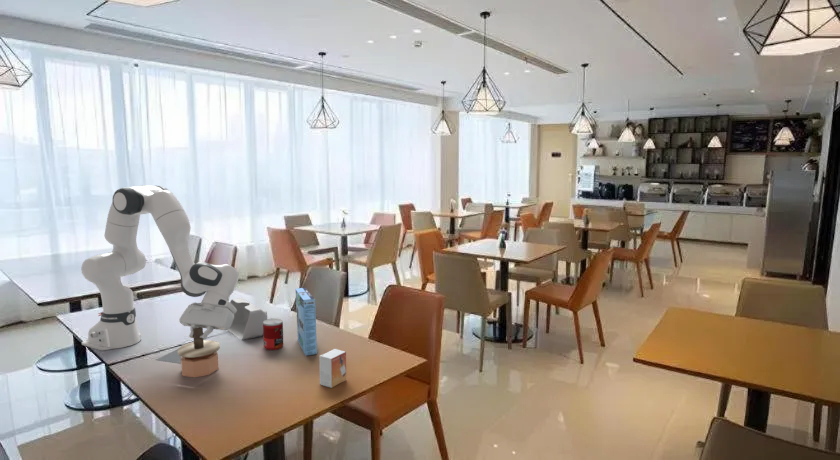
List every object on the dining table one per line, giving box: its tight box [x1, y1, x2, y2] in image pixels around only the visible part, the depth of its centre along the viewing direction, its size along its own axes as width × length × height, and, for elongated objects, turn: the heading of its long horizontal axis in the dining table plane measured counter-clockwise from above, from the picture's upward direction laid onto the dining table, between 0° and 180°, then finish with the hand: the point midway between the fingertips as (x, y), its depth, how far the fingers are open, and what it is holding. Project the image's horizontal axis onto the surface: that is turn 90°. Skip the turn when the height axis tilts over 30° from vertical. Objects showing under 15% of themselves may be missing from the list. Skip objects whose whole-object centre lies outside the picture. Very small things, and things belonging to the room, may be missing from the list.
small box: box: [318, 348, 347, 389], centre depth 169 cm, size 8×6×10 cm
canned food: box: [262, 318, 284, 351], centre depth 200 cm, size 8×8×11 cm
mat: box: [155, 348, 181, 365], centre depth 191 cm, size 15×15×1 cm
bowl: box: [180, 351, 219, 378], centre depth 177 cm, size 12×12×6 cm
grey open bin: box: [227, 297, 268, 341], centre depth 221 cm, size 25×16×12 cm, turn 40°
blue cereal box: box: [295, 287, 318, 357], centre depth 200 cm, size 20×5×23 cm, turn 23°
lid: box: [177, 327, 221, 358], centre depth 176 cm, size 14×14×8 cm
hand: (197, 338), depth 176 cm, fingers closed on lid, 3 cm apart
